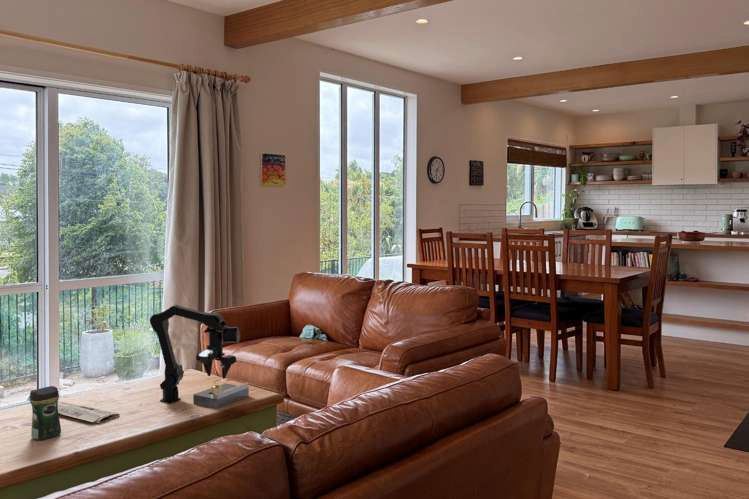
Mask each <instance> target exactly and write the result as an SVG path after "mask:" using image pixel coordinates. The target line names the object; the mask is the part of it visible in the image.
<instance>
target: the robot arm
mask: <svg viewBox="0 0 749 499" xmlns="http://www.w3.org/2000/svg"><path fill="white" fill-rule="evenodd" d="M174 316H178V317H182V318H185V319H189V320H191V321H192V320H193V321H195V322H196V321H197V322H199V323H202V324H203V325H204V326H207V327H206V328H205V329H204V330H203V333H207V334H208V344H207V345H206V349H205V350H203V351H201V352H199V353H198V352H197V354H196V357H195V358H196V361H198V362H199V363H201V364H202V365H203V366H204V369H205V372H206V374H207V376H208V377H210V376H211V374H212V368H213V361H218V362H220V364H219V366H220V367H221V375H222V376H221V377H222V379H226V377H227V376H228V374H229V373H228V372H229V371H230V369H231V367H232V365H234V364H235V363H237V356H235V355H230V354H229V355H226V353H225V352H224V351H223V347H225V343H233V344H234V343H240V341H241V332H240V330H239V326H233V327H232V326H229V325H228V324H227V323H226V321H225V319H224V316H223V315H222V314H221V313H219V312H210V311H209V312H208V311H207V312H204V311H200V310H196V309H192V308H188V307H185V306H182V305H178V304H173V305H171V306H170V307H169V308H167V309H166V310H164V311H160V312H157V313H155V314H152V316H151V317H150V318H149V323H150V326H151V328H152V330H153V331H154V332H155V334H156V335H157V339H158V342H159V345H160V349H161V350H160V351H161V354H162V358H163V362H164V366H165V368H164V380H163V381H162V382H161V383H160V384H159V387H160V389H161V390H162V398H161V399H159V401H160V402H163V403H167V404H168V403H169V404H172V403H174V402H177V401H180V400H181V397H179V388H178V385H179V383H180V382H181V381H182V379H183V378H184V374H185V372H184V370H183V364H179V363H178V362H177V361H176V356H175V353H174V349H173V345H172V340H171V337H170V335H169V327H170V322H169V320H170V319H171V318H173V317H174ZM223 342H224V343H223Z"/></svg>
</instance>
